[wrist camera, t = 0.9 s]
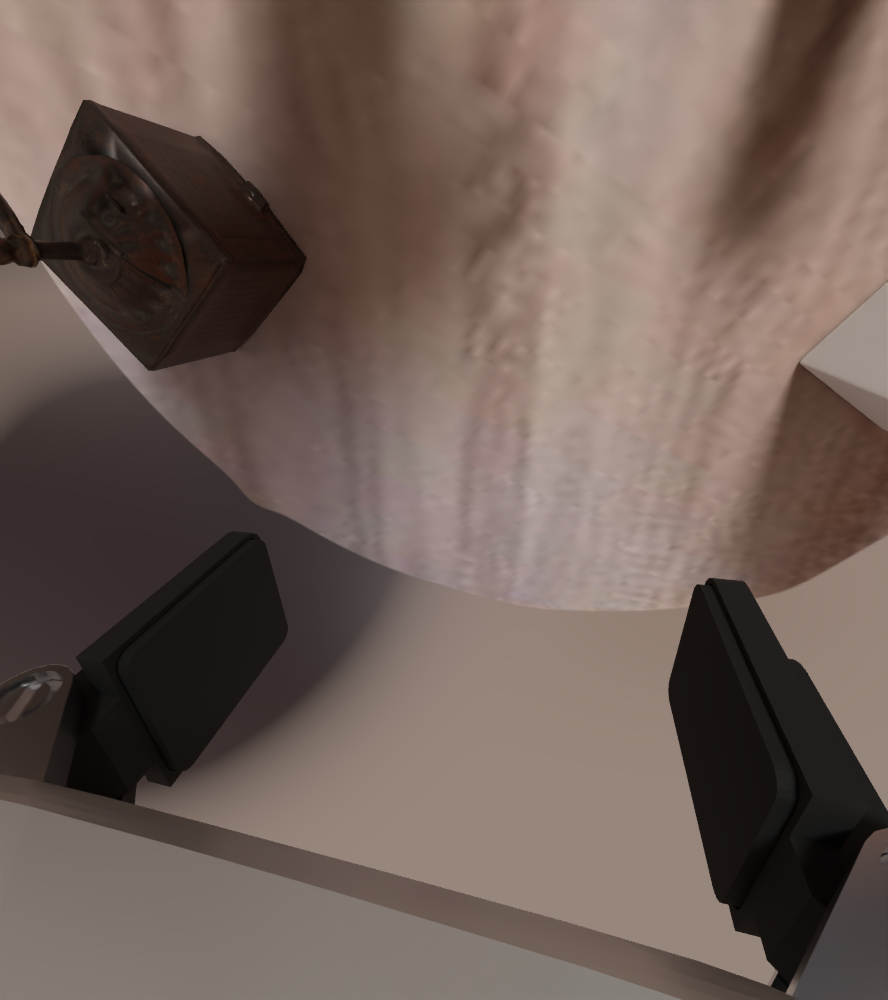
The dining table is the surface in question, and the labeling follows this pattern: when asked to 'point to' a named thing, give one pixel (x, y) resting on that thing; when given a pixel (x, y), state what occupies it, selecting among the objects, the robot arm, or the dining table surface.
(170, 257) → the manual coffee grinder
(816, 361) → the milk carton
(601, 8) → the dining table surface
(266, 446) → the dining table surface
